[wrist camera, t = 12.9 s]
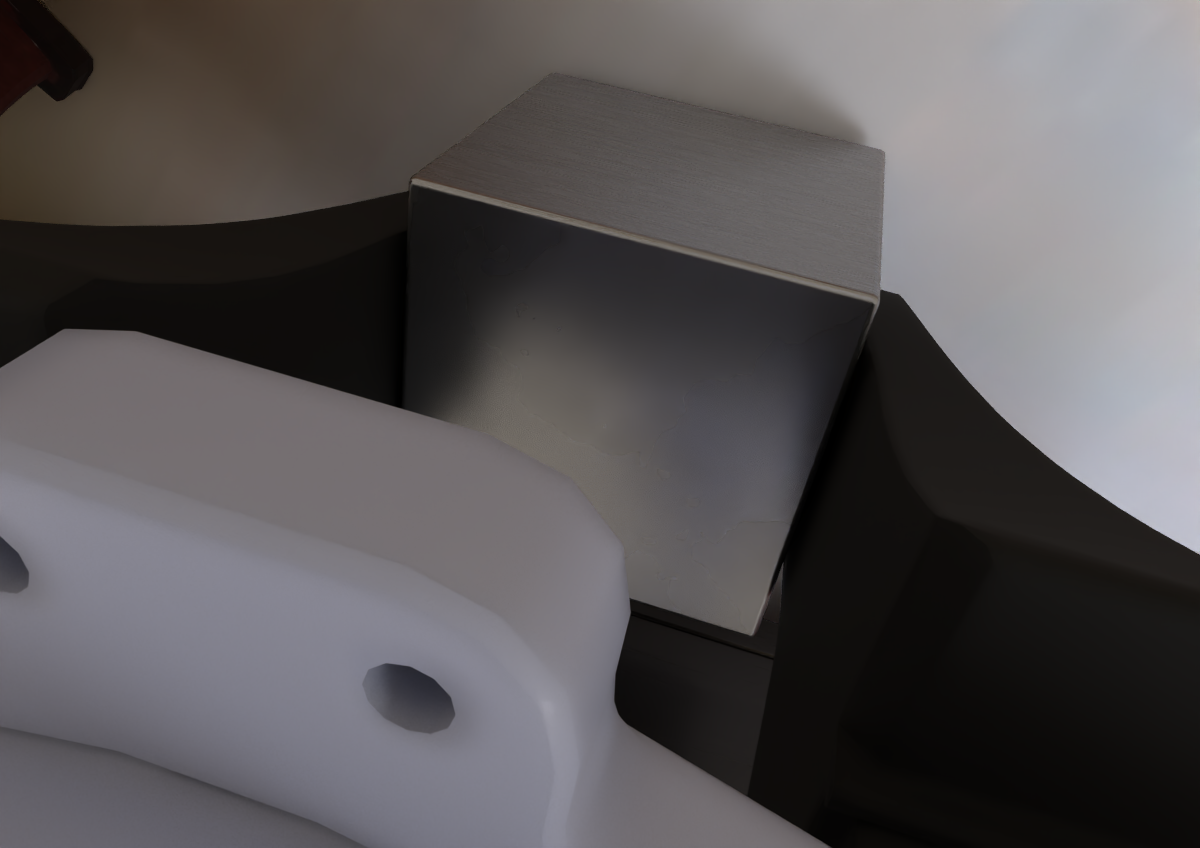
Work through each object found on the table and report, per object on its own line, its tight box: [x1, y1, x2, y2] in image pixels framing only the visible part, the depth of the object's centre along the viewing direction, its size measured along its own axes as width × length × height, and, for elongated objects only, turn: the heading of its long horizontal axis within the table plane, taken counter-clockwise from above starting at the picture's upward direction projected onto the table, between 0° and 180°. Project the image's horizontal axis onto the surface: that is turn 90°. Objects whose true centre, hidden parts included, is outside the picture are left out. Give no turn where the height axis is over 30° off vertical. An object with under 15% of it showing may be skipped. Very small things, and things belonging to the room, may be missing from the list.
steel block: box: [401, 73, 885, 637], centre depth 11 cm, size 4×4×4 cm
